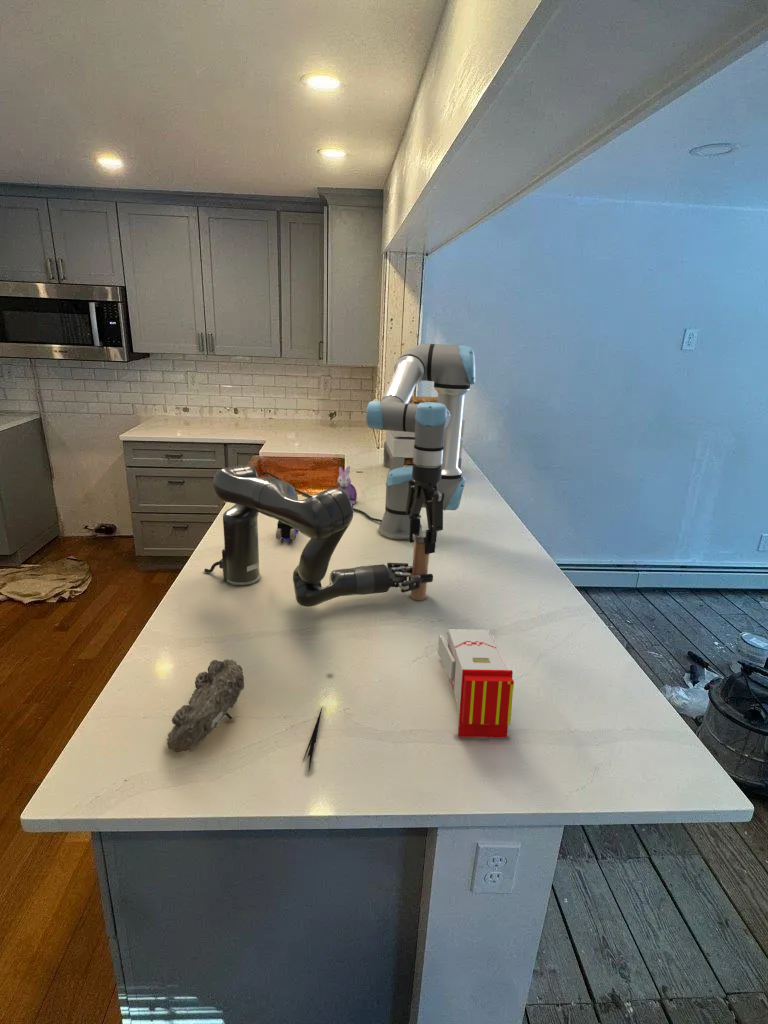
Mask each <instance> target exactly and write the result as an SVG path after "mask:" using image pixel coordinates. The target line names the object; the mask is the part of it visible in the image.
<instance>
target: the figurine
mask: <svg viewBox="0 0 768 1024" xmlns="http://www.w3.org/2000/svg"><path fill="white" fill-rule="evenodd" d="M350 473H351V466H350V465H348V466H347V467H346V468H345V469H344V468H343V467H342V466H339V467H338V477H337V480H336V483H337V486H338V487H337V488H338V489H341V490H342V491H344V492H345V493H346V495H347V496H348V497H349V499H350V501H351V503H352V505H355V504H356V503H357V498H358V494H357V489H356V486H354V485H353V484H352V480H351V477H350Z"/></svg>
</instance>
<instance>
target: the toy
mask: <svg viewBox="0 0 768 1024" xmlns="http://www.w3.org/2000/svg"><path fill="white" fill-rule="evenodd" d="M446 640H447V643H446V641H445V639H444V636H443V635H442V634H439V637H438V646H437V656H438V657H439V659H440V661H441V663H442V666H443V668H444V670H445V672H446V674H447V677H448V679H449V681H450V684H451V687H452V690H453V693H454V697H455V701H456V705H457V708H458V711H459V714H458V715H459V716H458V730H457V731H458V732H457V737H458V738H508V731H509V726H510V725H511V717H512V707H513V697H514V696H513V695H514V684H515V680H514V679H513V673H514V671H513V670H512V669H508V667H507V665H506V662H505V661H504V659H503V658H502V655H501V653H500V651H499V649H498V647H497V643H496V639H495V637H494V635H493V634H491V632H490V631H489V629H467V628H466V629H465V628H463V629H461V628H460V629H459V628H448V630H447V639H446Z"/></svg>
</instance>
